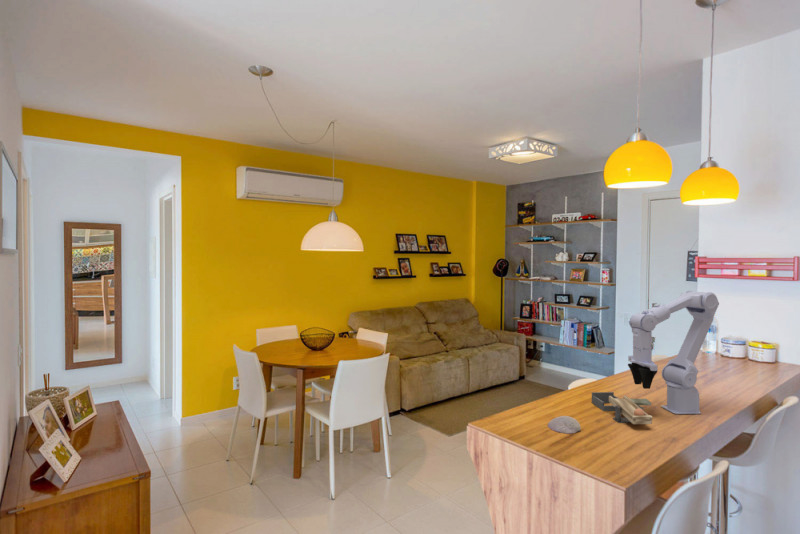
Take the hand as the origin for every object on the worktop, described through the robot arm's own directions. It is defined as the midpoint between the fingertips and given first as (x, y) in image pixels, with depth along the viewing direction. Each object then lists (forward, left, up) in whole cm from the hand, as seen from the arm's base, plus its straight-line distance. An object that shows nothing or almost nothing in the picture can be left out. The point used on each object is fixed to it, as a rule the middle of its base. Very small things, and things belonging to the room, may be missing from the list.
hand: (642, 386), depth 152 cm
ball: (+8, +12, -5) cm, 15 cm away
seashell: (+32, +11, -10) cm, 35 cm away
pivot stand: (+8, +6, -10) cm, 14 cm away
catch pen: (+8, -8, -10) cm, 15 cm away
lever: (+4, +6, -7) cm, 10 cm away
